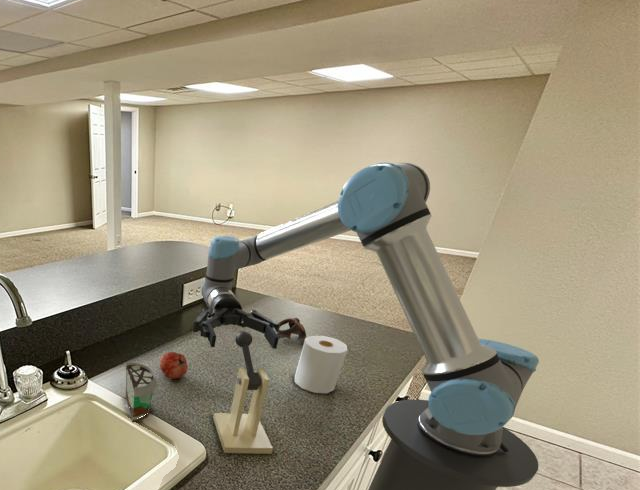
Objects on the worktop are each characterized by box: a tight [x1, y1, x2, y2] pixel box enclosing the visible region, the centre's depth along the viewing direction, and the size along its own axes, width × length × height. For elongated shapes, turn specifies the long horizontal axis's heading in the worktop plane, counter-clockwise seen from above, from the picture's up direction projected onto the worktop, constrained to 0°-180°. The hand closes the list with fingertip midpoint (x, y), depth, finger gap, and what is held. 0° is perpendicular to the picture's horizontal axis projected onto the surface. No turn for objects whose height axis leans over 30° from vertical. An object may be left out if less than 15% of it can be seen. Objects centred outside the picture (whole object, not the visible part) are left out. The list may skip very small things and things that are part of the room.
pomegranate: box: [159, 351, 189, 380], centre depth 109 cm, size 7×7×10 cm
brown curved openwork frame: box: [277, 317, 307, 346], centre depth 132 cm, size 12×10×8 cm
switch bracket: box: [212, 367, 274, 455], centre depth 85 cm, size 12×10×16 cm
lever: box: [234, 330, 261, 391], centre depth 85 cm, size 14×4×4 cm, turn 0°
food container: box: [125, 361, 158, 423], centre depth 94 cm, size 12×6×10 cm, turn 9°
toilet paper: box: [294, 335, 348, 394], centre depth 106 cm, size 10×10×12 cm
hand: (244, 342), depth 87 cm, fingers open, 13 cm apart
